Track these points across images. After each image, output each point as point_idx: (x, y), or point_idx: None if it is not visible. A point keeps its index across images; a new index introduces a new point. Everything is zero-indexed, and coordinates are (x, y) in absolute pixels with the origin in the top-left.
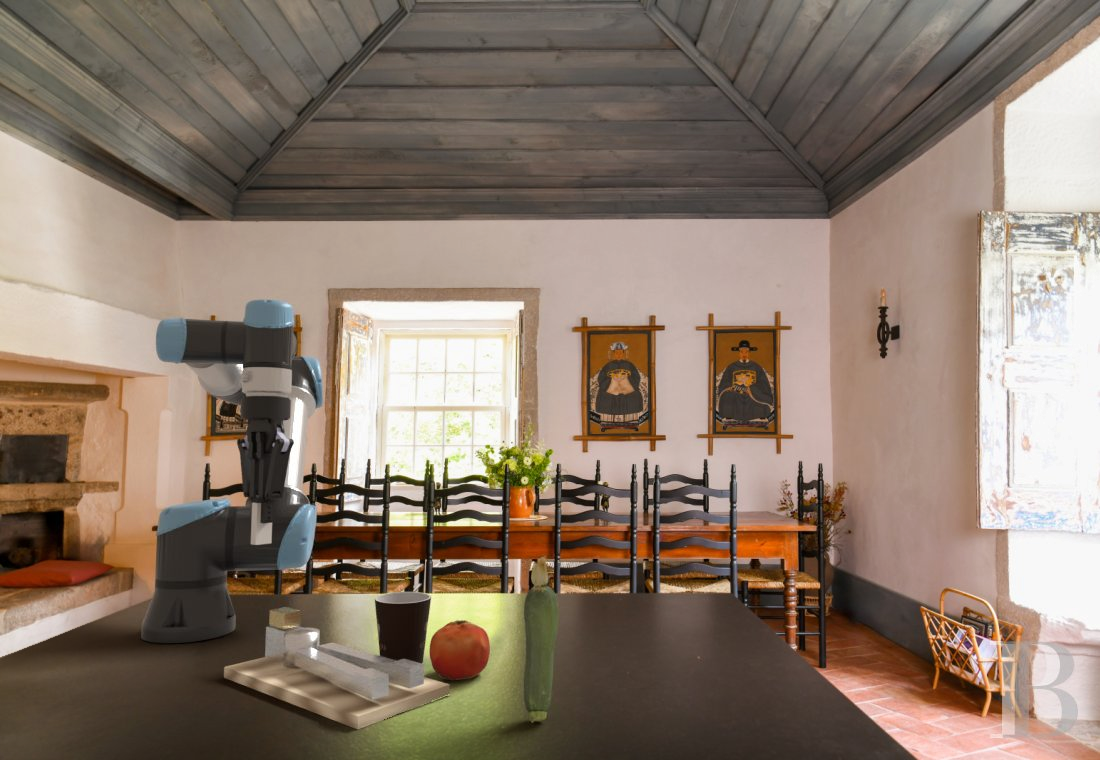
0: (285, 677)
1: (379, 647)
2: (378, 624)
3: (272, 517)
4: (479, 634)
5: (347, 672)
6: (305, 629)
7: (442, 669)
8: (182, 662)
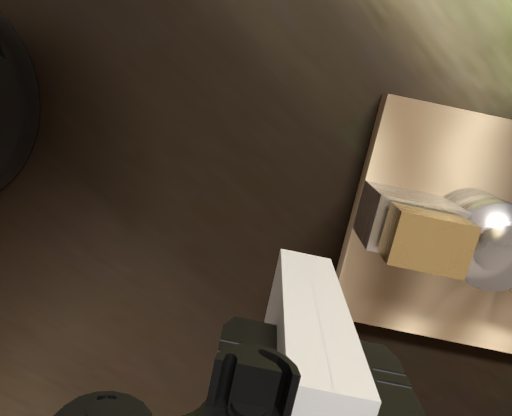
0: (502, 311)
1: None
2: None
3: (404, 371)
4: None
5: None
6: (490, 226)
7: None
8: (158, 274)
